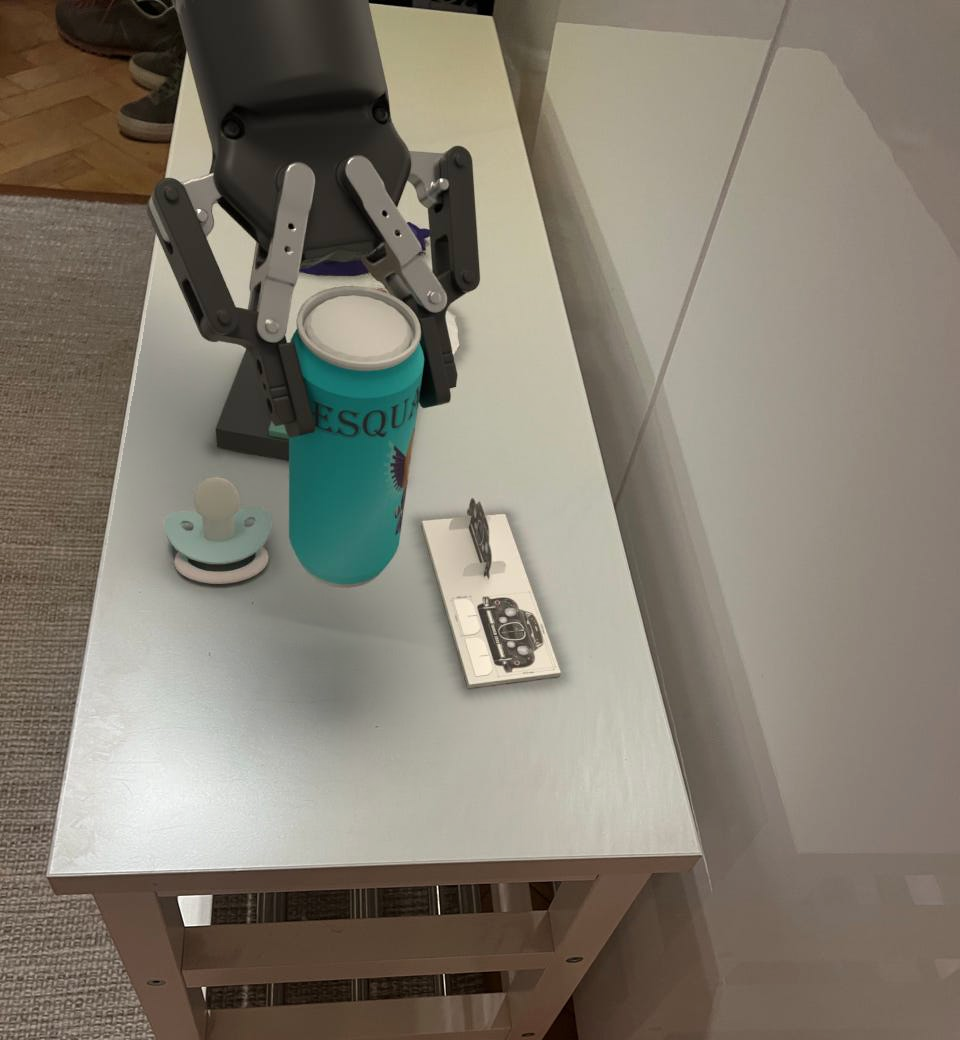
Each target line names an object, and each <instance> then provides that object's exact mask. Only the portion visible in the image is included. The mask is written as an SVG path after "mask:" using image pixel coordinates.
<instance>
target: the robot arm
mask: <svg viewBox="0 0 960 1040" xmlns="http://www.w3.org/2000/svg"><path fill="white" fill-rule="evenodd" d="M170 3H171V5H173V8H174V10H175V13H176V15H177V18H178V22H179V25H180V30H181V34H182V37H183V42H184V45H185V49H186V54H187V58H188V61H189V65H190V69H191V72H192V76H193V80H194V84H195V88H196V92H197V96H198V100H199V103H200V107H201V112H202V115H203V120H204V122H205V126H206V131H207V135H208V138H209V141H210V146H211V154H212V155H211V165H210V167H209V172H208V174H205V175H201V176H198V177H195V178H191V179H188V180H185V181H179V180H178V179H176V178H172V177H164V178H161V179H160V180H159V181H158V182H157V183H156V184H155V187H154V189H153V191H152V192H151V195H150V196H149V199H148V201H147V203H146V213H147V216H148V219H149V221H150V223H151V225H152V227H153V230H154V232H155V234H156V237H157V239H158V241H159V243H160V245H161V248H162V251H163V252H164V255H165V257H166V259H167V262H168V264H169V266H170V268H171V271H172V273H173V275H174V278H175V280H176V282H177V284H178V287H179V289H180V291H181V294H182V296H183V299H184V300H185V303H186V305H187V307H188V310H189V312H190V315H191V316H192V318H193V321H194V324H195V325H196V328H197V330H198V332H199V335H200V336H201V337H202V338H203V339H205V340H206V341H208V342H211V343H217V342H222V343H228V344H234V345H238V346H240V347H243V348H244V349H245V350H246V349H247V350H248V351H249V352H250V354H251V356H252V358H253V361H254V365H255V368H256V372H257V376H258V380H259V384H260V388H261V391H262V395H263V399H264V402H265V407H266V410H267V414H268V417H269V418H270V419H271V421H272V422H273V424H274V425H275V426H279V425H284V426H285V429H286V432H287V434H288V436H289V437H290V438H292V437H296V436H301V435H306V434H310V433H314V432H315V423H314V419H313V415H312V411H311V407H310V403H309V399H308V395H307V391H306V387H305V383H304V379H303V375H302V371H301V367H300V363H299V359H298V355H297V351H296V347H295V343H294V342H290V341H289V342H288V341H287V337H286V334H287V331H288V325H289V317H290V312H291V305H292V300H293V293H294V290H295V287H296V285H297V282H298V280H299V274H300V272H299V269H303V268H309V267H311V266H314V265H316V264H318V263H320V262H322V261H324V260H331V261H338V262H348V261H354V260H360V259H361V261H362V262H363V263H364V265H365V266H366V268H367V269H368V271H369V272H370V273H369V274H370V275H371V277H372V278H373V280H376V281H377V282H379V283H380V284H382V286H383V288H386V289H387V291H388V292H389V294H390V295H392V296H394V297H396V298H398V299H399V300H401V301H402V302H404V303H405V304H406V305H407V306H409V307H410V309H411V310H412V311H413V312H414V313H415V315H416V317H417V318H418V321H419V323H420V329H421V338H420V341H419V343H420V345H421V348H422V350H423V354H424V367H423V374H422V381H421V388H420V396H419V403H418V405H419V406H420V407H421V408H422V409H428V408H432V407H437V406H440V405H441V406H442V405H445V404H449V403H450V402H451V399H452V394H451V393H452V392H451V389H454V388H457V384H458V383H457V382H458V371H457V365H456V362H455V357H454V356H455V355H454V356H453V353H452V347H451V342H450V337H449V333H448V328H447V323H446V311H447V310H448V308H449V307H450V305H452V304H453V303H454V302H456V301H457V300H458V299H460V298H462V297H463V296H464V295H466V294H468V293H470V292H473V291H474V290H476V289H477V288H478V287H479V285H480V282H481V271H480V270H481V269H480V256H479V255H480V253H479V240H478V238H479V237H478V226H477V223H478V222H477V210H476V209H477V208H476V195H475V181H474V180H475V179H474V164H473V157H472V155H471V153H470V151H469V150H468V149H467V148H466V147H464V146H462V145H455V146H452V147H451V148H449V149H448V150H446V151H444V152H442V153H441V152H429V151H415V150H409V147H408V146H407V144H406V143H405V141H404V140H403V139H402V137H401V136H400V134H399V133H398V131H397V128H396V127H395V124H394V123H393V119H392V115H391V105H390V96H389V90H388V86H387V81H386V75H385V71H384V67H383V61H382V58H381V53H380V48H379V44H378V39H377V35H376V30H375V25H374V21H373V20H374V19H373V16H372V11H371V7H370V2H369V0H170ZM407 183H410V184H411V185H412V186H413V188H414V190H415V192H416V197H417V199H418V202H419V203H420V204H421V206H423V207H424V208H426V209H427V215H428V216H427V217H428V229H429V232H430V237H429V242H430V243H429V244H430V245H429V246H430V256H431V259H430V260H431V267H430V265H429V264H428V262H427V261H426V260H425V258H424V256H423V252H422V247H421V244H420V243H419V241H418V239H417V238H416V236H415V235H414V233H413V232H412V230H411V229H410V227H409V226H408V224H407V221H406V219H405V218H404V216H403V215H402V213H401V212H400V210H399V209H398V207H399V205H400V201H401V199H402V196H403V194H404V191H405V188H406V185H407ZM215 204H218V206H219V207H220V208H222V210H223V211H224V212H225V213H226V214H227V215H228V216H230V217H231V219H233V220H234V222H236V223H237V224H238V226H240V227H241V228H242V230H243V231H245V232H246V233H247V234H248V235H249V237H251V238H252V240H254V241H255V246H254V247H255V248H254V254H253V259H252V264H251V265H252V266H251V273H250V277H249V287H248V288H249V298H248V299H249V300H248V305H247V308H243V307H238V306H236V304H235V301H234V300H233V297H232V295H231V292H230V290H229V287H228V286H227V283H226V281H225V278H224V276H223V274H222V271H221V269H220V266H219V264H218V262H217V259H216V257H215V255H214V253H213V249H212V248H211V244H210V243H209V240H208V238H207V237H208V236H209V235H210V233H211V232H212V231H213V230H214V227H215V217H214V214H213V206H214V205H215ZM395 234H396V235H395Z"/></svg>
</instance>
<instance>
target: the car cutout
mask: <svg viewBox="0 0 960 1040" xmlns="http://www.w3.org/2000/svg"><path fill="white" fill-rule="evenodd" d="M420 526H421V530H422V532H423V536H424V539H425V543H426V547H427V550H428V555H429V557H430V561H431V564H432V568H433V571H434V575H435V577H436V582H437V585H438V589H439V592H440V595H441V599H442V603H443V606H444V611H445V613H446V618H447V620H448V623H449V628H450V631H451V634H452V638H453V640H454V645H455V648H456V652H457V655H458V658H459V662H460V665H461V668H462V673H463V676H464V679H465V683H466V686H467V689H474V688H483V687H488V686H496V685H505V684H511V683H512V684H513V683H519V682H527V681H535V680H542V679H551V678H556V677H557V678H558V677H560V676H561V674H562V671H561V668H560V665H559V663H558V660H557V658H556V657H557V656H556V655H555V654H556V653H555V652H554V648H553V646H552V643H551V640H550V637H549V634H548V631H547V628H546V625H545V623H544V620H543V617H542V614H541V612H540V611H541V610H540V609H539V605H538V603H537V599H536V598H535V595H534V592H533V588H532V585H531V583H530V580H529V577H528V575H527V571H526V569H525V565H524V564H523V560H522V556H521V554H520V551H519V549H518V546H517V544H516V543H517V542H516V539H515V537H514V534H513V531H512V528H511V526H510V523H509V520H508V516H507V514H506V513H498V514H497V513H496V514H486V512H485V508H484V506H483V504H482V502H481V501H478V502H476V499H475V498H474V497H472V498H471V499H470V501H469V506H468V508H467V510H466V515H462V516H456V517H449V518H437V519H425V520H424V519H423V520H421V524H420Z"/></svg>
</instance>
